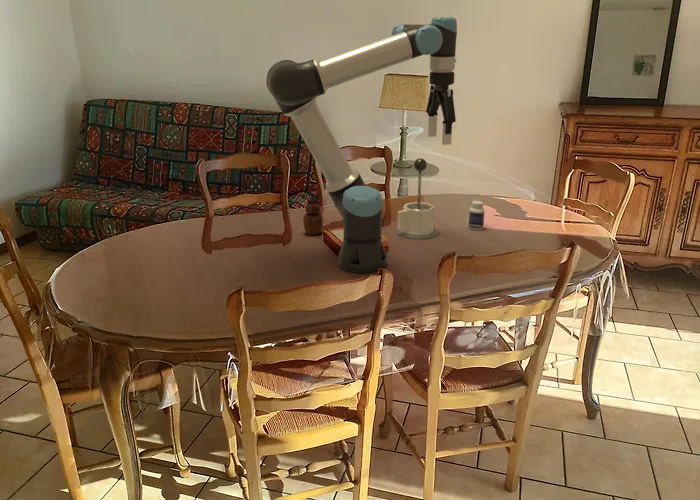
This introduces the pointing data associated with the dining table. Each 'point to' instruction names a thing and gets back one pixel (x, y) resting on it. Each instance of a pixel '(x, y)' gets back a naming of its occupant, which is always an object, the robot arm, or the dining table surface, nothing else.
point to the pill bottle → (476, 216)
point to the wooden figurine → (313, 217)
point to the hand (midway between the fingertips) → (439, 140)
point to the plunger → (419, 183)
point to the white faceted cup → (416, 222)
